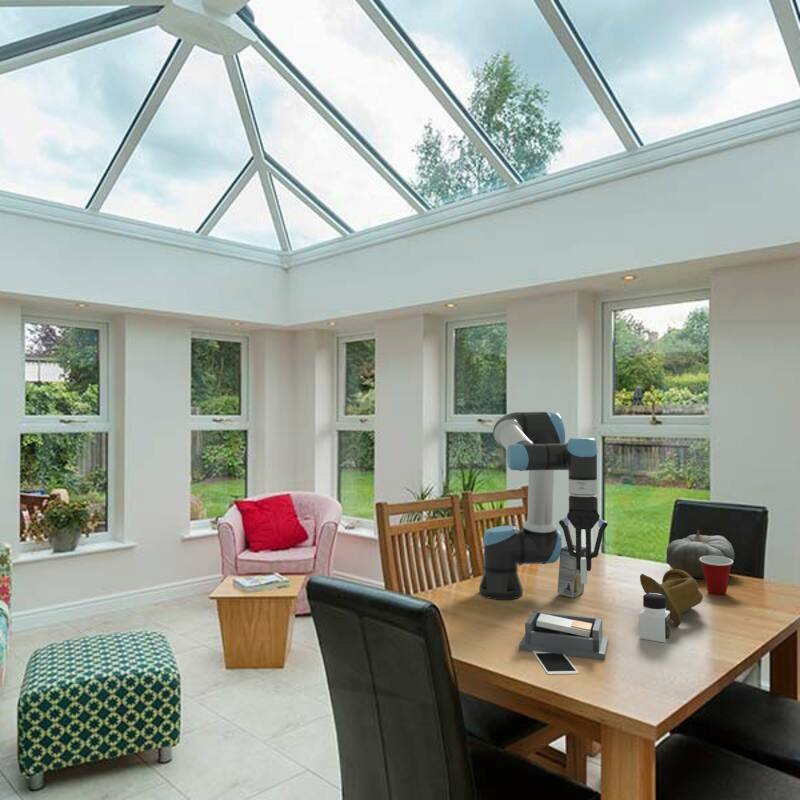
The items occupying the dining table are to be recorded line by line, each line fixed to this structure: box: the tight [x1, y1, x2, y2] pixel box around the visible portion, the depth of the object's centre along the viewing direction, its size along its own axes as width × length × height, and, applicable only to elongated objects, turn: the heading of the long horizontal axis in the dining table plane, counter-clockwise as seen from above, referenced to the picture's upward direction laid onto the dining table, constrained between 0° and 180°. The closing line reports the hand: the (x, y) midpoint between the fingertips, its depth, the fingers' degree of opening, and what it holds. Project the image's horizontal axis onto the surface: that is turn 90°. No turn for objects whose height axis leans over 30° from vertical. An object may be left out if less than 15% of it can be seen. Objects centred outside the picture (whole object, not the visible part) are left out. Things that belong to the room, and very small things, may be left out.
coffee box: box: [556, 544, 586, 598], centre depth 234 cm, size 9×6×16 cm
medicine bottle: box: [638, 593, 672, 644], centre depth 188 cm, size 7×7×12 cm
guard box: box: [518, 610, 609, 661], centre depth 182 cm, size 22×14×7 cm, turn 69°
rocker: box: [536, 613, 592, 637], centre depth 182 cm, size 14×7×2 cm, turn 69°
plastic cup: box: [699, 556, 734, 596], centre depth 234 cm, size 11×11×12 cm
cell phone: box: [532, 651, 580, 676], centre depth 170 cm, size 8×16×1 cm, turn 2°
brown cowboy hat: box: [639, 568, 704, 627], centre depth 208 cm, size 23×16×28 cm
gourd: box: [666, 530, 735, 579], centre depth 262 cm, size 25×25×17 cm
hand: (584, 582), depth 180 cm, fingers closed
